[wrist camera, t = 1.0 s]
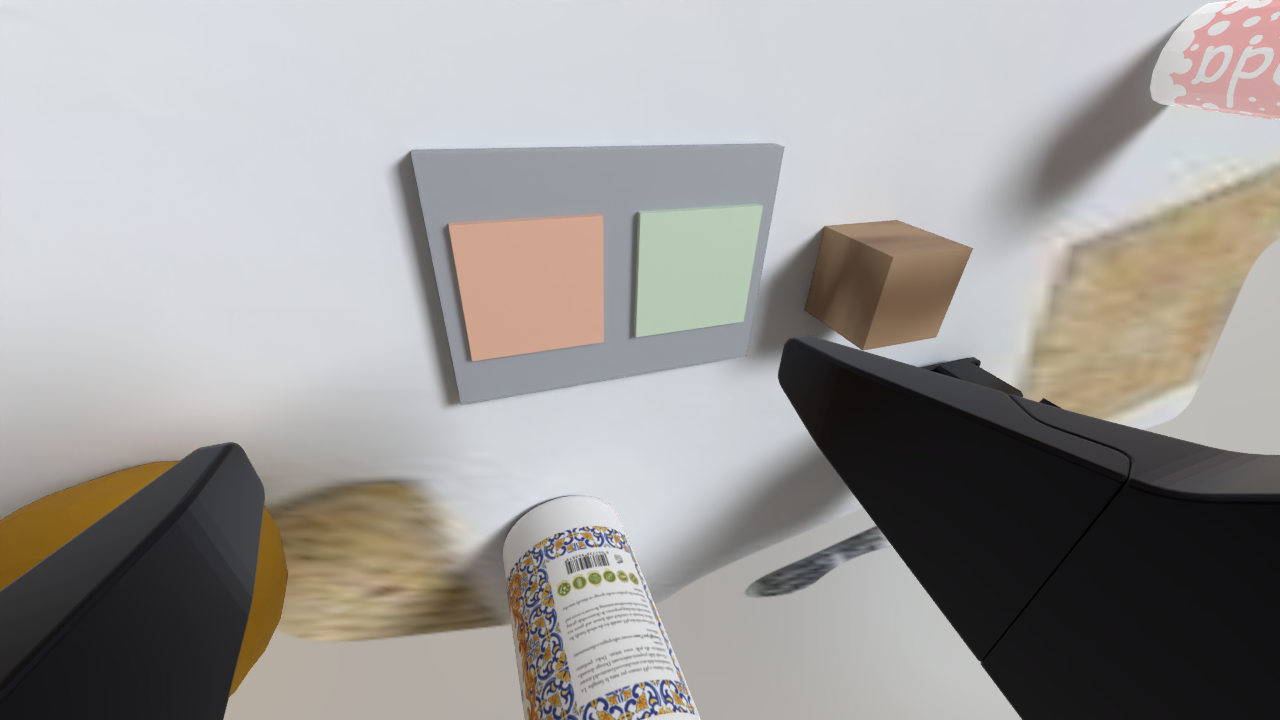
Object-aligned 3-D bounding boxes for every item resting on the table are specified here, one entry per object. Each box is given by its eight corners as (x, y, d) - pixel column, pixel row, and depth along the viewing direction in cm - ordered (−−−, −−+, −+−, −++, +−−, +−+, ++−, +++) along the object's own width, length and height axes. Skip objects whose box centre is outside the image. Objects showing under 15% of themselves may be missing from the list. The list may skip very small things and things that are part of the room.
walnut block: (870, 299, 27) (936, 337, 24) (803, 309, 26) (862, 350, 22) (895, 219, 25) (972, 248, 21) (823, 225, 24) (893, 257, 20)
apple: (234, 592, 23) (146, 835, 16) (-23, 534, 18) (-324, 856, 11) (354, 474, 22) (317, 677, 15) (118, 376, 17) (-112, 616, 10)
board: (739, 348, 26) (749, 359, 25) (460, 394, 21) (461, 408, 20) (773, 143, 20) (788, 147, 19) (411, 149, 16) (410, 155, 15)
